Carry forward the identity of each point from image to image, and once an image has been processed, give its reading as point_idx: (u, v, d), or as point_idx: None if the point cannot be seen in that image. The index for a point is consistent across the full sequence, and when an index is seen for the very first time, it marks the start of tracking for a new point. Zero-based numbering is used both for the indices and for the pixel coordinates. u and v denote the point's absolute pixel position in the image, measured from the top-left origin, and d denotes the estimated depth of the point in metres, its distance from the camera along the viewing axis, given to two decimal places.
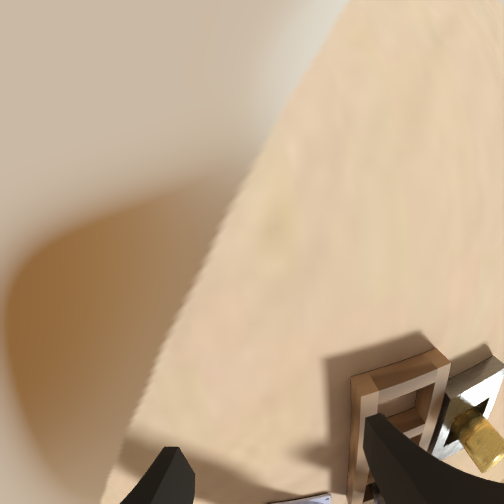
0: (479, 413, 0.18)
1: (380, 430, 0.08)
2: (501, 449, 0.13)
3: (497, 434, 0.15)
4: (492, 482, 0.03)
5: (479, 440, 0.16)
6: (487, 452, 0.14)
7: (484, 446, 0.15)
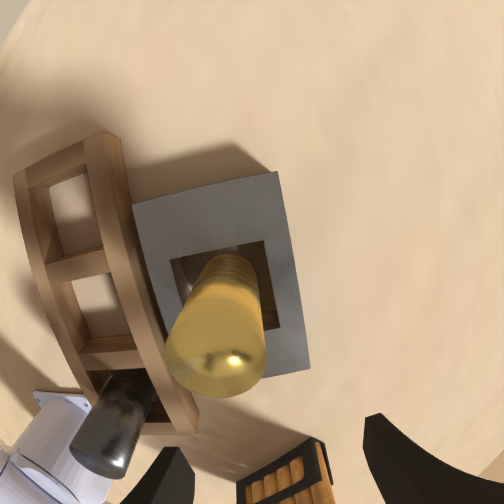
0: (233, 267, 0.15)
1: (380, 430, 0.08)
2: (198, 314, 0.09)
3: (230, 294, 0.11)
4: (492, 482, 0.03)
5: (187, 300, 0.12)
6: (177, 320, 0.10)
7: (182, 309, 0.11)
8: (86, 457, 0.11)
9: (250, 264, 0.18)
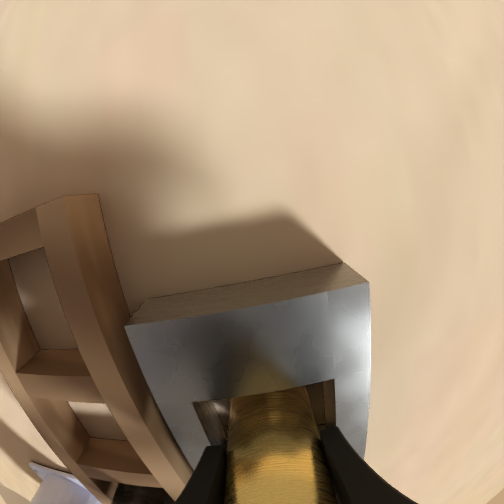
0: (289, 418, 0.09)
1: (331, 445, 0.08)
2: None
3: None
4: None
5: (236, 497, 0.06)
6: None
7: None
8: None
9: None
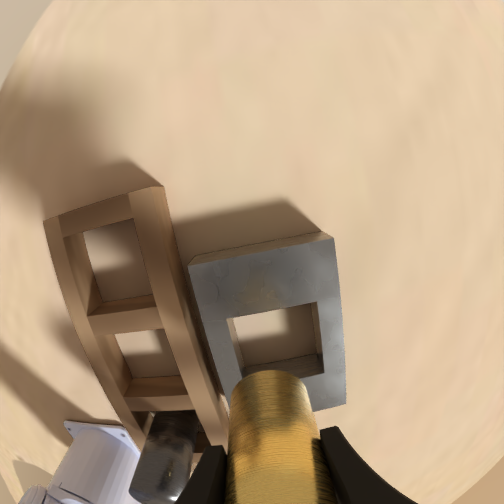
0: (290, 418, 0.09)
1: (331, 445, 0.08)
2: None
3: None
4: None
5: (236, 497, 0.06)
6: None
7: None
8: (146, 496, 0.12)
9: (301, 382, 0.12)
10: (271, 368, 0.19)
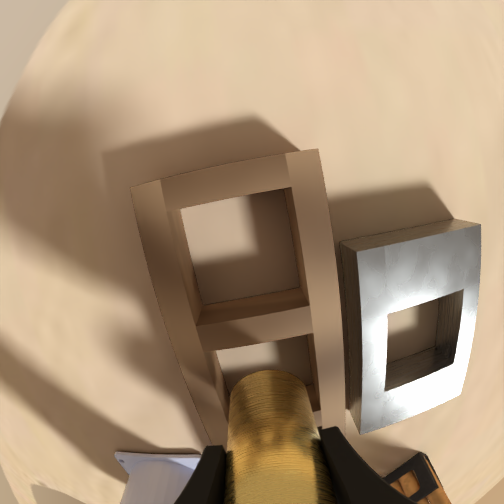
0: (289, 418, 0.09)
1: (331, 445, 0.08)
2: None
3: None
4: None
5: (236, 497, 0.06)
6: None
7: None
8: None
9: (301, 382, 0.12)
10: (399, 366, 0.16)
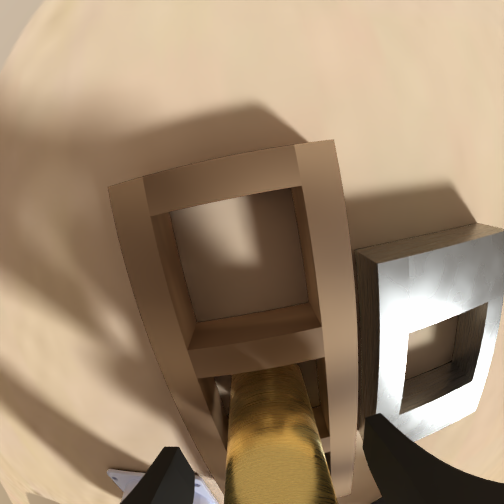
0: (285, 393, 0.10)
1: (380, 430, 0.08)
2: None
3: (299, 468, 0.07)
4: (492, 482, 0.03)
5: (237, 462, 0.08)
6: None
7: (236, 485, 0.06)
8: None
9: (296, 364, 0.13)
10: (414, 385, 0.13)
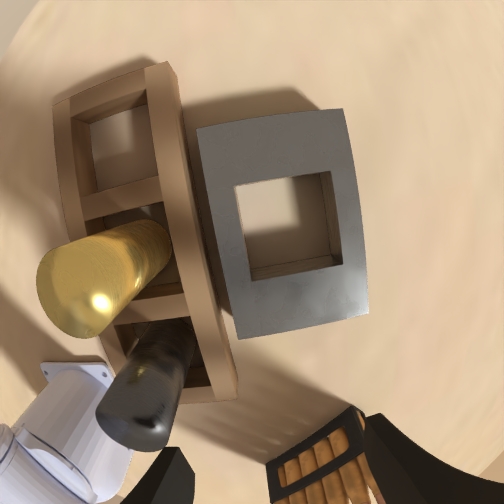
0: (132, 226, 0.14)
1: (380, 430, 0.08)
2: None
3: (100, 239, 0.11)
4: (492, 482, 0.03)
5: None
6: None
7: None
8: (117, 424, 0.10)
9: (163, 229, 0.17)
10: (281, 267, 0.18)
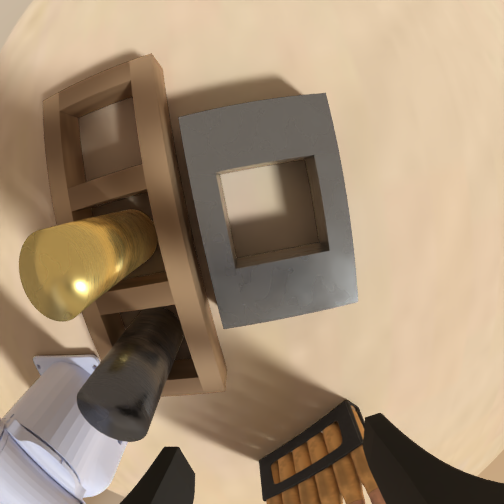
0: (117, 214, 0.14)
1: (380, 430, 0.08)
2: (36, 231, 0.09)
3: (81, 223, 0.11)
4: (492, 482, 0.03)
5: None
6: None
7: None
8: (98, 411, 0.10)
9: (149, 219, 0.17)
10: (267, 254, 0.17)
